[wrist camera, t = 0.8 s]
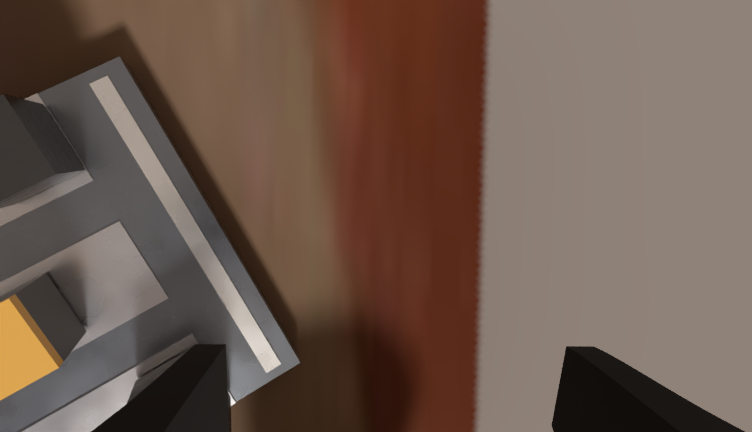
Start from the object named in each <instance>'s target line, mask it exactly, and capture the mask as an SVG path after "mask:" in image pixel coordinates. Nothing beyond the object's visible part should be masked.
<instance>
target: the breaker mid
mask: <svg viewBox="0 0 752 432" xmlns="http://www.w3.org/2000/svg"><path fill="white" fill-rule="evenodd" d="M86 332H87V331H86V330H85V328H84V327H83V325H82V324H81V322H80V321H79V320H78V318H77V317H76V315H75V314H74V312H73V311H72V310H71V308H70V307H69V305H68V304H67V302H66V301H65V299H64V298H63V297H62V295H61V294H60V292H59V291H58V289H57V288H56V287H55V285H54V284H53V282H52V281H51V279H50V278H49V277H48V275H47V274H46V273H45V274H43V275H41V276H39V277H37V278H35V279H33V280H31V281H29V282H27V283H26V284H24V285H22V286H20V287H18V288H16V289H14V290H12V291H10V292H8V293H6V294H4V295H2V296H0V400H2V399H4V398H6V397H8V396H9V395H11V394H13V393H15V392H17V391H18V390H20V389H22V388H24V387H26V386H27V385H29V384H31V383H33V382H35V381H36V380H38V379H40V378H42V377H44V376H45V375H47V374H49V373H51V372H52V371H54V370H56V369H58V368H59V367H60V366H61V365H62V363H63V362H64V361H65V359H66V358H67V357H68V355H69V354H70V353H71V351H72V350H73V349H74V348H75V346H76V345H77V344H78V342H79V341H80V340H81V338H82V337H83V336H84V334H85V333H86Z"/></svg>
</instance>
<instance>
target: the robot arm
mask: <svg viewBox="0 0 752 432" xmlns="http://www.w3.org/2000/svg"><path fill="white" fill-rule="evenodd" d="M552 427H553V431H554V432H744V431H742V430H741V429H739V428H737V427H735V426H733V425H731V424H729V423H728V422H726V421H724V420H722V419H720V418H718V417H716V416H715V415H713V414H711V413H709V412H707V411H705V410H703V409H702V408H700V407H698V406H697V405H695V404H693V403H691V402H689V401H688V400H686V399H684V398H683V397H681V396H679V395H677V394H676V393H674V392H673V391H671V390H669V389H667V388H666V387H664V386H662V385H661V384H659V383H657V382H656V381H654V380H652V379H651V378H649V377H647V376H646V375H644V374H642V373H641V372H639V371H637V370H636V369H634V368H632V367H631V366H629V365H627V364H625V363H624V362H622V361H620V360H618V359H617V358H615V357H613V356H611V355H609V354H608V353H606V352H604V351H602V350H600V349H598V348H595V347H566V351H565V357H564V363H563V367H562V373H561V378H560V384H559V389H558V395H557V400H556V405H555V411H554V417H553V421H552ZM228 431H229V412H228V386H227V361H226V344H195V345H194V346H193V347H192V348H190V349H189V350H188V351H187V352H186V353H185V354H183V355H182V356H181V357H180V358H179V359H178V360H177V361H176V362H174V363H173V364H172V365H171V366H170V367H169V368H168V369H167V370H166V371H164V372H163V373H162V374H161V375H160V376H159V377H158V378H157V379H155V380H154V381H153V382H152V383H151V384H150V385H149V386H147V387H146V388H145V389H144V390H143V391H142V392H140V393H139V394H138V395H137V396H136V397H134V398H133V399H132V400H131V401H130V402H129V403H127V404H126V405H125V406H123V407H122V408H121V409H120V410H118V411H117V412H116V413H114V414H113V415H112V416H111V417H109V418H108V419H107V420H105V421H104V422H103V423H102V424H100V425H99V426H98V427H96V428H95V429H94V430H93V431H91V432H228Z"/></svg>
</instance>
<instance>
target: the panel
mask: <svg viewBox="0 0 752 432" xmlns="http://www.w3.org/2000/svg"><path fill="white" fill-rule="evenodd" d="M45 273H46V274H47V275H48V277H49V278H50V279H51V281H52V282H53V284H54V285H55V287H56V288H57V289H58V291H59V292H60V294H61V295H62V297H63V298H64V299H65V301H66V302H67V304H68V305H69V307H70V308H71V310H72V311H73V312H74V314H75V315H76V317H77V318H78V320H79V321H80V322H81V324H82V325H83V327H84V328H85V330H86V331H87V332H86V333H85V334H84V336H83V337H82V338H81V340H80V341H79V342H78V344H77V345H76V346H75V348H74V349H73V350H72V351H71V353H70V354H69V355H68V357H67V358H66V359H65V361H64V362H63V363H62V365H61V366H60V367H59V368H58V369H56V370H54V371H52V372H51V373H49V374H47V375H45V376H44V377H42V378H40V379H38V380H36V381H35V382H33V383H31V384H29V385H27V386H26V387H24V388H22V389H20V390H18V391H17V392H15V393H13V394H11V395H9V396H8V397H6V398H4V399H2V400H0V432H91V431H93V430H94V429H95V428H96V427H98V426H99V425H100V424H102V423H103V422H104V421H105V420H107V419H108V418H109V417H111V416H112V415H113V414H114V413H116V412H117V411H118V410H120V409H121V408H122V407H123V406H125V405H126V404H127V403H129V402H130V401H131V400H132V399H133V398H134V397H136V396H137V395H138V394H139V393H140V392H142V391H143V390H144V389H145V388H146V387H147V386H149V385H150V384H151V383H152V382H153V381H154V380H155V379H157V378H158V377H159V376H160V375H161V374H162V373H163V372H164V371H166V370H167V369H168V368H169V367H170V366H171V365H172V364H173V363H174V362H176V361H177V360H178V359H179V358H180V357H181V356H182V355H183V354H185V353H186V352H187V351H188V350H189V349H190V348H192V347H193V346H194V345H195V344H226V361H227V386H228V412H229V431H228V432H231V406H232V405H233V404H235V403H236V402H237V401H238V400H240V399H242V398H243V397H245V396H247V395H248V394H250V393H251V392H253V391H255V390H256V389H258V388H260V387H261V386H263V385H265V384H266V383H268V382H270V381H271V380H273V379H275V378H276V377H278V376H279V375H281V374H283V373H284V372H286V371H288V370H289V369H291V368H293V367H294V366H296V365H298V364H299V363H300V360H299V357H298V355H297V352H296V350H295V348H294V347H293V345H292V343H291V342H290V340H289V338H288V336H287V335H286V333H285V331H284V330H283V328H282V326H281V325H280V323H279V321H278V319H277V318H276V316H275V314H274V313H273V311H272V309H271V308H270V306H269V304H268V303H267V301H266V299H265V297H264V296H263V294H262V292H261V291H260V289H259V287H258V286H257V284H256V282H255V280H254V279H253V277H252V275H251V274H250V272H249V270H248V269H247V267H246V265H245V263H244V262H243V260H242V258H241V257H240V255H239V253H238V252H237V250H236V248H235V247H234V245H233V243H232V241H231V240H230V238H229V236H228V235H227V233H226V231H225V230H224V228H223V226H222V224H221V223H220V221H219V219H218V218H217V216H216V214H215V213H214V211H213V209H212V208H211V206H210V204H209V202H208V201H207V199H206V197H205V196H204V194H203V192H202V191H201V189H200V187H199V185H198V184H197V182H196V180H195V179H194V177H193V175H192V174H191V172H190V170H189V168H188V167H187V165H186V163H185V162H184V160H183V158H182V157H181V155H180V153H179V152H178V150H177V148H176V146H175V145H174V143H173V141H172V140H171V138H170V136H169V135H168V133H167V131H166V129H165V128H164V126H163V124H162V123H161V121H160V119H159V118H158V116H157V114H156V113H155V111H154V109H153V107H152V106H151V104H150V102H149V101H148V99H147V97H146V96H145V94H144V92H143V90H142V89H141V87H140V85H139V84H138V82H137V80H136V79H135V77H134V75H133V73H132V72H131V70H130V68H129V67H128V65H127V63H126V62H125V61H124V60H123V59H122V58H121V57H117V58H115V59H113V60H110V61H108V62H106V63H104V64H102V65H99V66H97V67H95V68H93V69H91V70H88V71H86V72H84V73H82V74H80V75H77V76H75V77H73V78H71V79H69V80H66V81H64V82H62V83H60V84H58V85H55V86H53V87H51V88H49V89H47V90H44V91H42V92H40V93H36V94H34V95H32V96H30V97H28V98H25V99H21V98H17V97H13V96H9V95H5V94H2V95H0V296H2V295H4V294H6V293H8V292H10V291H12V290H14V289H16V288H18V287H20V286H22V285H24V284H26V283H27V282H29V281H31V280H33V279H35V278H37V277H39V276H41V275H43V274H45Z"/></svg>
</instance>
